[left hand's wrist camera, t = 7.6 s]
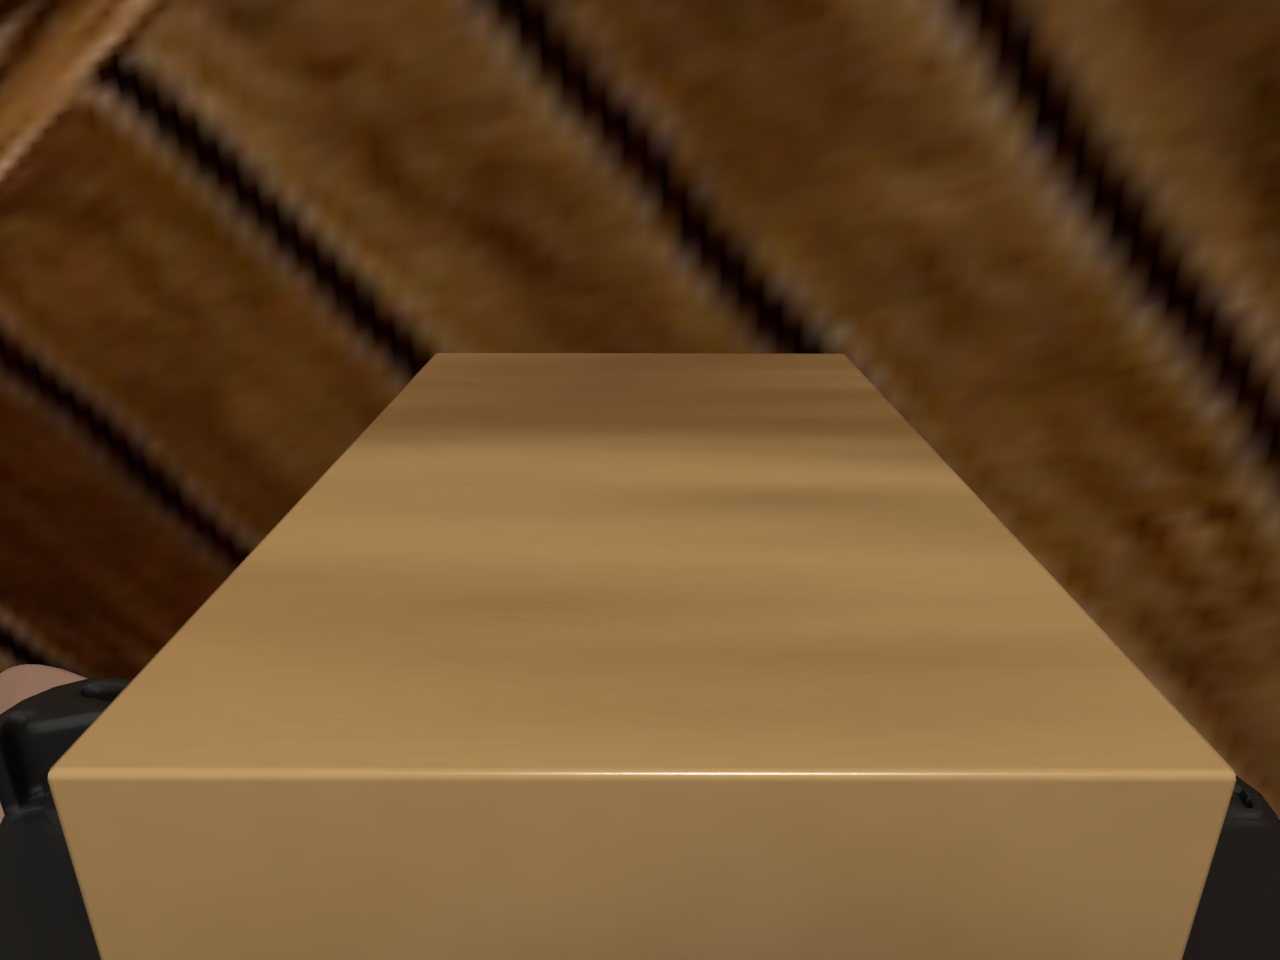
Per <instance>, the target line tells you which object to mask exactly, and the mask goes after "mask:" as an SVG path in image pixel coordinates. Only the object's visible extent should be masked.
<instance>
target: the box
mask: <svg viewBox="0 0 1280 960" xmlns="http://www.w3.org/2000/svg"><path fill="white" fill-rule="evenodd" d="M48 783H49V786H50V789H51V793H52V796H53V800H54V803H55V806H56V810H57V813H58V816H59V820H60V823H61V826H62V830H63V833H64V837H65V840H66V843H67V847H68V850H69V853H70V857H71V860H72V864H73V867H74V870H75V874H76V877H77V880H78V884H79V887H80V891H81V894H82V897H83V901H84V904H85V907H86V911H87V914H88V917H89V921H90V924H91V928H92V931H93V934H94V938H95V941H96V944H97V948H98V951H99V955H100V958H101V960H1182V958H1183V954H1184V951H1185V948H1186V945H1187V941H1188V938H1189V935H1190V931H1191V928H1192V925H1193V921H1194V918H1195V915H1196V912H1197V908H1198V905H1199V902H1200V898H1201V895H1202V892H1203V889H1204V885H1205V882H1206V879H1207V875H1208V872H1209V869H1210V866H1211V862H1212V859H1213V856H1214V852H1215V849H1216V846H1217V842H1218V839H1219V836H1220V833H1221V829H1222V826H1223V823H1224V819H1225V816H1226V813H1227V810H1228V806H1229V803H1230V800H1231V796H1232V793H1233V790H1234V787H1235V783H1236V775H1235V772H1234V770H1233V769H1232V768H1231V767H1230V765H1229V764H1228V763H1227V762H1226V761H1225V760H1224V759H1223V758H1222V757H1221V756H1220V755H1219V754H1218V753H1217V752H1216V751H1215V749H1214V748H1213V747H1212V746H1211V745H1210V744H1209V743H1208V742H1207V741H1206V740H1205V739H1204V738H1203V737H1202V736H1201V735H1200V733H1199V732H1198V731H1197V730H1196V729H1195V728H1194V727H1193V726H1192V725H1191V724H1190V723H1189V722H1188V721H1187V720H1186V718H1185V717H1184V716H1183V715H1182V714H1181V713H1180V712H1179V711H1178V710H1177V709H1176V708H1175V707H1174V706H1173V705H1172V704H1171V702H1170V701H1169V700H1168V699H1167V698H1166V697H1165V696H1164V695H1163V694H1162V693H1161V692H1160V691H1159V690H1158V689H1157V688H1156V686H1155V685H1154V684H1153V683H1152V682H1151V681H1150V680H1149V679H1148V678H1147V677H1146V676H1145V675H1144V674H1143V673H1142V672H1141V670H1140V669H1139V668H1138V667H1137V666H1136V665H1135V664H1134V663H1133V662H1132V661H1131V660H1130V659H1129V658H1128V657H1127V655H1126V654H1125V653H1124V652H1123V651H1122V650H1121V649H1120V648H1119V647H1118V646H1117V645H1116V644H1115V643H1114V642H1113V641H1112V639H1111V638H1110V637H1109V636H1108V635H1107V634H1106V633H1105V632H1104V631H1103V630H1102V629H1101V628H1100V627H1099V626H1098V625H1097V623H1096V622H1095V621H1094V620H1093V619H1092V618H1091V617H1090V616H1089V615H1088V614H1087V613H1086V612H1085V611H1084V610H1083V608H1082V607H1081V606H1080V605H1079V604H1078V603H1077V602H1076V601H1075V600H1074V599H1073V598H1072V597H1071V596H1070V595H1069V594H1068V592H1067V591H1066V590H1065V589H1064V588H1063V587H1062V586H1061V585H1060V584H1059V583H1058V582H1057V581H1056V580H1055V579H1054V578H1053V576H1052V575H1051V574H1050V573H1049V572H1048V571H1047V570H1046V569H1045V568H1044V567H1043V566H1042V565H1041V564H1040V563H1039V562H1038V560H1037V559H1036V558H1035V557H1034V556H1033V555H1032V554H1031V553H1030V552H1029V551H1028V550H1027V549H1026V548H1025V547H1024V545H1023V544H1022V543H1021V542H1020V541H1019V540H1018V539H1017V538H1016V537H1015V536H1014V535H1013V534H1012V533H1011V532H1010V531H1009V529H1008V528H1007V527H1006V526H1005V525H1004V524H1003V523H1002V522H1001V521H1000V520H999V519H998V518H997V517H996V516H995V515H994V513H993V512H992V511H991V510H990V509H989V508H988V507H987V506H986V505H985V504H984V503H983V502H982V501H981V500H980V498H979V497H978V496H977V495H976V494H975V493H974V492H973V491H972V490H971V489H970V488H969V487H968V486H967V485H966V484H965V482H964V481H963V480H962V479H961V478H960V477H959V476H958V475H957V474H956V473H955V472H954V471H953V470H952V469H951V468H950V466H949V465H948V464H947V463H946V462H945V461H944V460H943V459H942V458H941V457H940V456H939V455H938V454H937V453H936V452H935V450H934V449H933V448H932V447H931V446H930V445H929V444H928V443H927V442H926V441H925V440H924V439H923V438H922V437H921V435H920V434H919V433H918V432H917V431H916V430H915V429H914V428H913V427H912V426H911V425H910V424H909V423H908V422H907V421H906V419H905V418H904V417H903V416H902V415H901V414H900V413H899V412H898V411H897V410H896V409H895V408H894V407H893V406H892V405H891V403H890V402H889V401H888V400H887V399H886V398H885V397H884V396H883V395H882V394H881V393H880V392H879V391H878V390H877V388H876V387H875V386H874V385H873V384H872V383H871V382H870V381H869V380H868V379H867V378H866V377H865V376H864V375H863V374H862V372H861V371H860V370H859V369H858V368H857V367H856V366H855V365H854V364H853V363H852V362H851V361H850V360H849V359H848V358H847V356H846V355H844V354H650V353H437V354H435V355H434V356H433V357H432V358H431V359H430V361H429V362H428V363H427V364H426V365H425V366H424V367H423V368H422V369H421V370H420V371H419V372H418V373H417V375H416V376H415V377H414V378H413V379H412V380H411V381H410V382H409V383H408V384H407V385H406V386H405V387H404V389H403V390H402V391H401V392H400V393H399V394H398V395H397V396H396V397H395V398H394V399H393V400H392V401H391V402H390V404H389V405H388V406H387V407H386V408H385V409H384V410H383V411H382V412H381V413H380V414H379V415H378V416H377V418H376V419H375V420H374V421H373V422H372V423H371V424H370V425H369V426H368V427H367V428H366V429H365V430H364V432H363V433H362V434H361V435H360V436H359V437H358V438H357V439H356V440H355V441H354V442H353V443H352V444H351V446H350V447H349V448H348V449H347V450H346V451H345V452H344V453H343V454H342V455H341V456H340V457H339V458H338V460H337V461H336V462H335V463H334V464H333V465H332V466H331V467H330V468H329V469H328V470H327V471H326V472H325V474H324V475H323V476H322V477H321V478H320V479H319V480H318V481H317V482H316V483H315V484H314V485H313V486H312V488H311V489H310V490H309V491H308V492H307V493H306V494H305V495H304V496H303V497H302V498H301V499H300V500H299V501H298V503H297V504H296V505H295V506H294V507H293V508H292V509H291V510H290V511H289V512H288V513H287V514H286V515H285V517H284V518H283V519H282V520H281V521H280V522H279V523H278V524H277V525H276V526H275V527H274V528H273V529H272V531H271V532H270V533H269V534H268V535H267V536H266V537H265V538H264V539H263V540H262V541H261V542H260V543H259V545H258V546H257V547H256V548H255V549H254V550H253V551H252V552H251V553H250V554H249V555H248V556H247V557H246V559H245V560H244V561H243V562H242V563H241V564H240V565H239V566H238V567H237V568H236V569H235V570H234V571H233V573H232V574H231V575H230V576H229V577H228V578H227V579H226V580H225V581H224V582H223V583H222V584H221V585H220V587H219V588H218V589H217V590H216V591H215V592H214V593H213V594H212V595H211V596H210V597H209V598H208V599H207V600H206V602H205V603H204V604H203V605H202V606H201V607H200V608H199V609H198V610H197V611H196V612H195V613H194V614H193V616H192V617H191V618H190V619H189V620H188V621H187V622H186V623H185V624H184V625H183V626H182V627H181V628H180V630H179V631H178V632H177V633H176V634H175V635H174V636H173V637H172V638H171V639H170V640H169V641H168V642H167V644H166V645H165V646H164V647H163V648H162V649H161V650H160V651H159V652H158V653H157V654H156V655H155V656H154V658H153V659H152V660H151V661H150V662H149V663H148V664H147V665H146V666H145V667H144V668H143V669H142V670H141V672H140V673H139V674H138V675H137V676H136V677H135V678H134V679H133V680H132V681H131V682H130V683H129V684H128V686H127V687H126V688H125V689H124V690H123V691H122V692H121V693H120V694H119V695H118V696H117V697H116V698H115V700H114V701H113V702H112V703H111V704H110V705H109V706H108V707H107V708H106V709H105V710H104V711H103V712H102V713H101V715H100V716H99V717H98V718H97V719H96V720H95V721H94V722H93V723H92V724H91V725H90V726H89V727H88V729H87V730H86V731H85V732H84V733H83V734H82V735H81V736H80V737H79V738H78V739H77V740H76V741H75V743H74V744H73V745H72V746H71V747H70V748H69V749H68V750H67V751H66V752H65V753H64V754H63V755H62V757H61V758H60V759H59V760H58V761H57V762H56V763H55V764H54V765H53V766H52V767H51V768H50V771H49V773H48Z"/></svg>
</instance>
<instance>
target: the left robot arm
mask: <svg viewBox="0 0 1280 960" xmlns="http://www.w3.org/2000/svg"><path fill="white" fill-rule="evenodd" d="M131 681H132V679H126V678H121V677H107V678H92V679H84V680H80V681H76V682H72V683H68V684H64V685H60V686H56V687H53V688H50V689H48V690H46V691H43V692H41V693H38V694H36V695H34V696H31V697H29V698H26V699H24V700H22V701H20V702H19V703H17V704H16V705H14V706H13V707H11V708H9V709H8V710H6V711H5V712H3V713H2V714H0V803H1V806H2V809H3V812H4V817H3V819H2V821H1V824H0V960H101V958H100V955H99V951H98V948H97V944H96V941H95V938H94V934H93V931H92V928H91V924H90V921H89V917H88V914H87V911H86V907H85V904H84V901H83V897H82V894H81V891H80V887H79V884H78V880H77V877H76V874H75V870H74V867H73V864H72V860H71V857H70V853H69V850H68V847H67V843H66V840H65V837H64V833H63V830H62V826H61V823H60V820H59V816H58V813H57V810H56V806H55V803H54V800H53V796H52V793H51V789H50V786H49V783H48V773H49V771H50V768H51V767H52V766H53V765H54V764H55V763H56V762H57V761H58V760H59V759H60V758H61V757H62V755H63V754H64V753H65V752H66V751H67V750H68V749H69V748H70V747H71V746H72V745H73V744H74V743H75V741H76V740H77V739H78V738H79V737H80V736H81V735H82V734H83V733H84V732H85V731H86V730H87V729H88V727H89V726H90V725H91V724H92V723H93V722H94V721H95V720H96V719H97V718H98V717H99V716H100V715H101V713H102V712H103V711H104V710H105V709H106V708H107V707H108V706H109V705H110V704H111V703H112V702H113V701H114V700H115V698H116V697H117V696H118V695H119V694H120V693H121V692H122V691H123V690H124V689H125V688H126V687H127V686H128V684H129V683H130V682H131ZM1182 960H1280V820H1278V818H1277V815H1276V814H1275V812H1274V811H1273V810H1272V808H1271V807H1270V806H1269V804H1268V803H1267V802H1266V800H1265V799H1264V798H1263V797H1262V795H1261V794H1260V793H1259V792H1257V791H1256V790H1255V789H1253V788H1252V787H1251V786H1249V785H1248V784H1247V783H1245V782H1244V781H1243V780H1241V779H1240V778H1239V777H1237V776H1236V783H1235V787H1234V790H1233V793H1232V796H1231V800H1230V803H1229V806H1228V810H1227V813H1226V816H1225V819H1224V823H1223V826H1222V829H1221V833H1220V836H1219V839H1218V842H1217V846H1216V849H1215V852H1214V856H1213V859H1212V862H1211V866H1210V869H1209V872H1208V875H1207V879H1206V882H1205V885H1204V889H1203V892H1202V895H1201V898H1200V902H1199V905H1198V908H1197V912H1196V915H1195V918H1194V921H1193V925H1192V928H1191V931H1190V935H1189V938H1188V941H1187V945H1186V948H1185V951H1184V954H1183V958H1182Z"/></svg>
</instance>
